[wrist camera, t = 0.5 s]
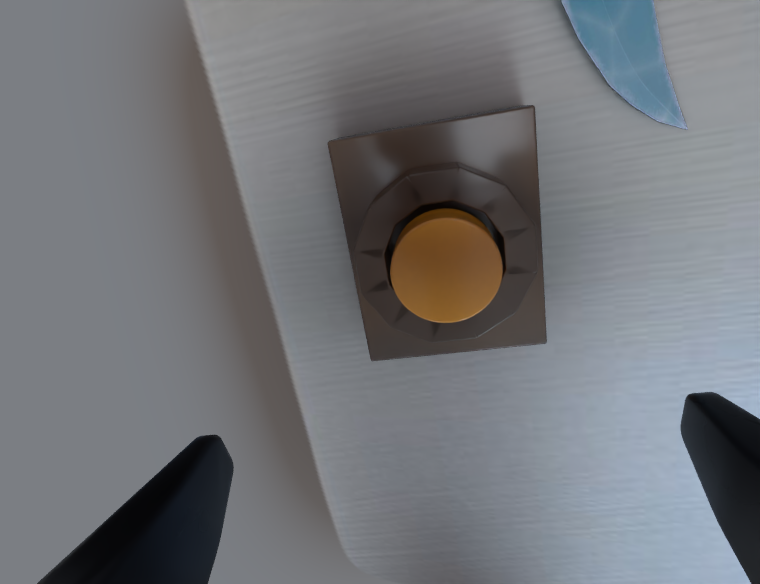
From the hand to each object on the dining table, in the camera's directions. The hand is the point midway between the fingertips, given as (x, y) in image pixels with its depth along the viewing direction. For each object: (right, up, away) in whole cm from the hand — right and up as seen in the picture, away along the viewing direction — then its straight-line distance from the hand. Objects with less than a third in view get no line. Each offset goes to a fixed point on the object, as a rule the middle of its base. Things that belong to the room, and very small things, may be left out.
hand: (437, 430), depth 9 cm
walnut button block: (+2, +5, +13) cm, 14 cm away
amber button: (+1, +4, +9) cm, 10 cm away
